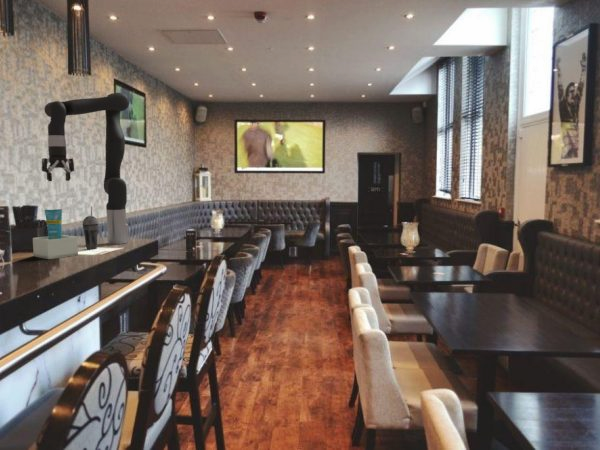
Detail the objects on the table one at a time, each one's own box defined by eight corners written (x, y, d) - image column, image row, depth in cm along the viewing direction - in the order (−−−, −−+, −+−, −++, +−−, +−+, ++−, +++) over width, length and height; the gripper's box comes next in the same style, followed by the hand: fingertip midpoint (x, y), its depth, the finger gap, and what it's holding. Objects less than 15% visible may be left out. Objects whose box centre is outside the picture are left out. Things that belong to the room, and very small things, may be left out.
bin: (62, 252, 244) (61, 235, 243) (78, 255, 236) (77, 237, 235) (33, 256, 233) (32, 237, 233) (48, 259, 225) (47, 240, 225)
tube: (45, 254, 232) (42, 209, 230) (49, 252, 237) (46, 209, 235) (63, 253, 233) (60, 209, 230) (66, 252, 237) (64, 208, 235)
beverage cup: (79, 249, 254) (77, 206, 252) (92, 247, 260) (90, 205, 258) (90, 250, 250) (88, 207, 248) (103, 248, 257) (101, 206, 255)
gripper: (67, 146, 257) (69, 180, 259) (37, 145, 246) (39, 181, 248) (75, 145, 253) (77, 180, 254) (45, 144, 242) (47, 181, 243)
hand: (58, 180), depth 251 cm, fingers open, 8 cm apart
